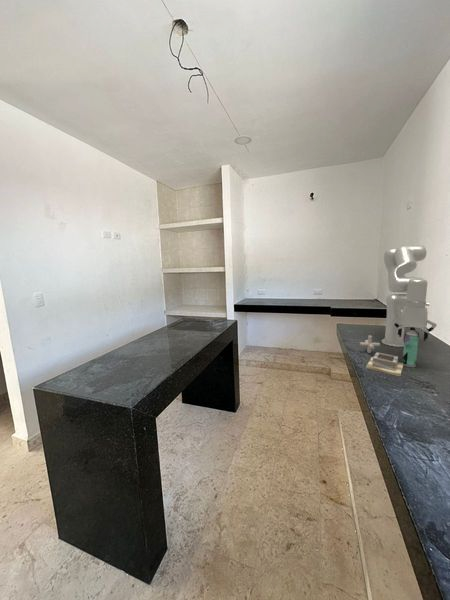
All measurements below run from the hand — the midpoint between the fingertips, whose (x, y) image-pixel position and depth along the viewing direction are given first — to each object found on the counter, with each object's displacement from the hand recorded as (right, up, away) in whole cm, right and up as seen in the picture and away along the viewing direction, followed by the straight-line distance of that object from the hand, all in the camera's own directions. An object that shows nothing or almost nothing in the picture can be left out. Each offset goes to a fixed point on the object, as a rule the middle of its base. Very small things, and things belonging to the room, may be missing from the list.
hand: (412, 338), depth 121 cm
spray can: (+1, -14, +3) cm, 15 cm away
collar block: (-13, -15, +2) cm, 20 cm away
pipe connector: (-10, -12, +20) cm, 25 cm away
